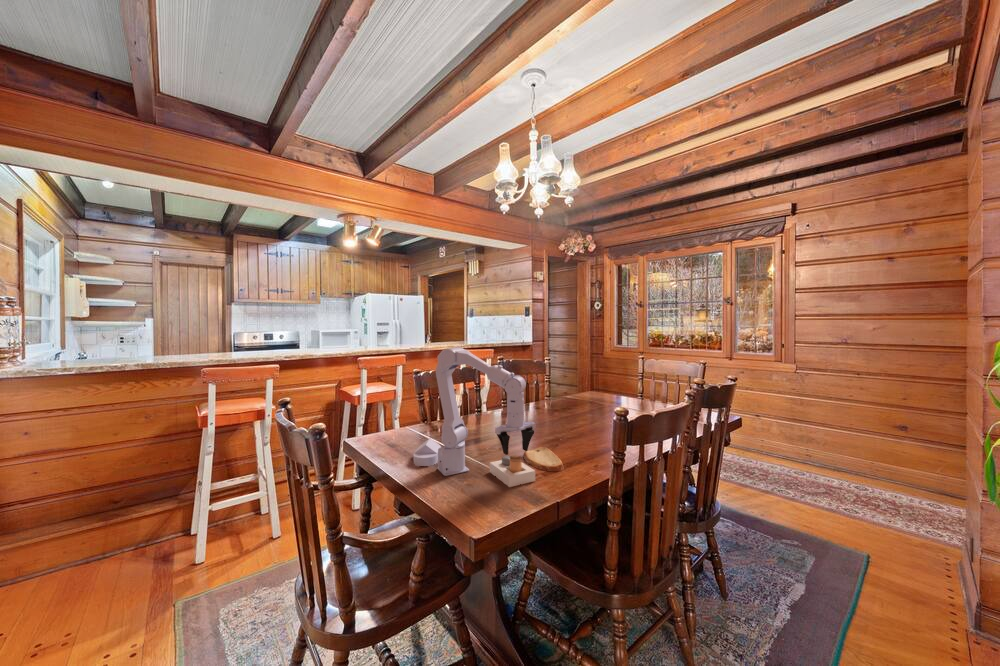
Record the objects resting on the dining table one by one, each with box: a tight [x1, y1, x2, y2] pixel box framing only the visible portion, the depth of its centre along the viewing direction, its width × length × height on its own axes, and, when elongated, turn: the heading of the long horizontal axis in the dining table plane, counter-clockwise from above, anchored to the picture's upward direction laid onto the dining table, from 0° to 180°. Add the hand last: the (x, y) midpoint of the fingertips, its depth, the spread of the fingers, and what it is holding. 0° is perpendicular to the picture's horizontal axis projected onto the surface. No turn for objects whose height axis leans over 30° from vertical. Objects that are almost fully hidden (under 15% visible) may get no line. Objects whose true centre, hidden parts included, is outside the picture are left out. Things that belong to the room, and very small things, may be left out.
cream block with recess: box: [489, 455, 536, 488], centre depth 133 cm, size 10×14×6 cm
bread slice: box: [522, 446, 565, 472], centre depth 148 cm, size 18×18×4 cm
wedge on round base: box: [413, 437, 442, 467], centre depth 148 cm, size 9×7×13 cm
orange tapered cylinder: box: [509, 454, 523, 473], centre depth 131 cm, size 4×4×7 cm
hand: (515, 452), depth 131 cm, fingers open, 7 cm apart
